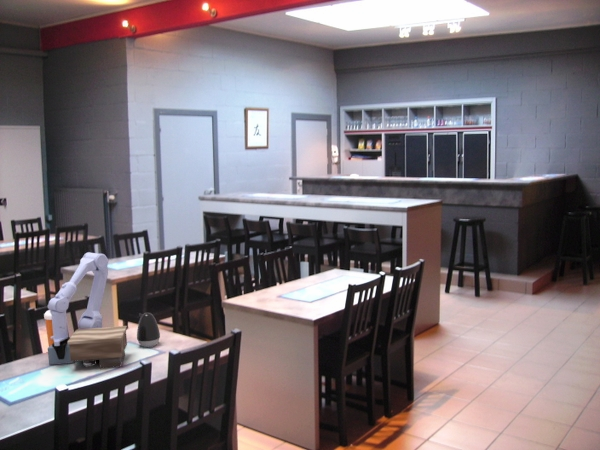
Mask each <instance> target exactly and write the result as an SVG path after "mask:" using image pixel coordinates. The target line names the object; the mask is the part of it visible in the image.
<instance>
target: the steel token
mask: <svg viewBox="0 0 600 450" xmlns="http://www.w3.org/2000/svg"><path fill="white" fill-rule="evenodd" d="M94 365H96V360H95V359H89V360H84V361H82V366H85V367H89V366H91V367H92V366H94Z"/></svg>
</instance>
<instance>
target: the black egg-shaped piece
mask: <svg viewBox="0 0 600 450" xmlns="http://www.w3.org/2000/svg"><path fill="white" fill-rule="evenodd" d="M138 315H139V317H140V318H139V321H138V325H137V330H136V339H137V341H138V344H139V345H140V346H141V347H143V348H152V347H155V346H156V345H157V344H158V343H159V341H160V338H161V332H160V328H159V325H158V322H157V320H156V318H155V316H154V315H153V314H152V313H151V312H144V313H143V314H142V313H141V312H139V313H138Z"/></svg>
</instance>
